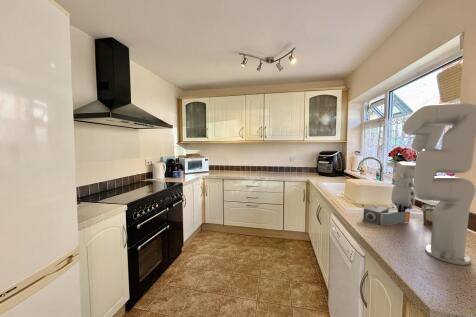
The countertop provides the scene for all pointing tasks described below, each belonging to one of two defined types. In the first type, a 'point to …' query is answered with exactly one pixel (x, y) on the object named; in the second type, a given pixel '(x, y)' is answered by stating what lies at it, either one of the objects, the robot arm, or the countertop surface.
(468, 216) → the robot arm
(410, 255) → the countertop surface
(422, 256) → the countertop surface
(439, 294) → the countertop surface
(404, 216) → the side door
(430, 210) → the food container
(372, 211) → the camera housing
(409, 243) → the countertop surface
